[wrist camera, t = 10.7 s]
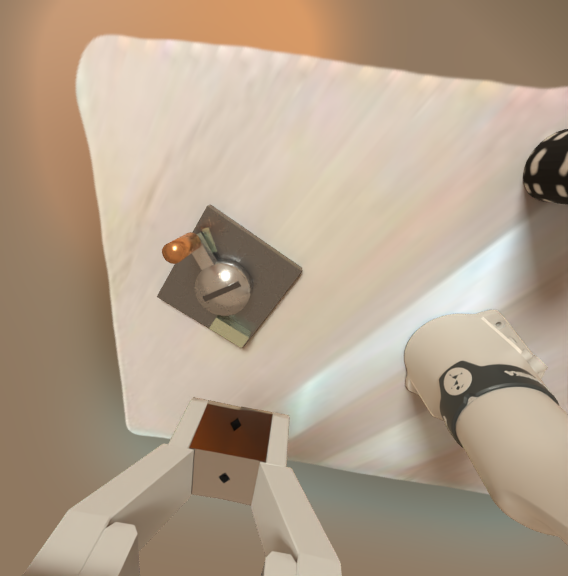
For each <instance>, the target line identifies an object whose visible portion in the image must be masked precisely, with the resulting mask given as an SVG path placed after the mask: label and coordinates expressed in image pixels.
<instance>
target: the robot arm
mask: <svg viewBox="0 0 568 576" xmlns="http://www.w3.org/2000/svg"><path fill="white" fill-rule="evenodd" d="M497 322H498V323H497ZM496 323H497V324H496ZM404 359H405V365H406V368H407V377H406V382H405V384H406V387H407V388H408V390H409V391H410V392H413V393H415V394H418V395H420V397H421V399H422V400H423V402H424V404H425V405H426V407H427V409H428V410H429V412H430V413H431V415H432V416H433V417H435V418H439V419H440V420H443V421H444V422H445V425H446V427H447V429H448V430H449V432H450V433H451V435H452V436H453V437H454V439H455V440H456V442H457V443H458V444H459V445H460V446H461V447H463V448H464V450H465V451H466V453H467V455H468V457H469V459H470V460H471V462H472V464H473V466H474V468H475V469H476V471H477V473H478V475H479V476H480V478H481V480H482V482H483V484H484V485H485V487H486V489H487V491H488V492H489V494H490V496H491V498H492V499H493V501H494V502H495V504H496V505H497V506H498V507H499V508H500V509H501V510H502V511H503V512H504V513H505V514H506V515H508V516H509V517H510V518H512V519H513V520H515V521H517V522H518V523H520V524H522V525H524V526H526V527H528V528H530V529H532V530H535V531H537V532H540V533H544V534H548V535H553V536H558V537H560V538H561V539H562V540H563V541H564V542H565V544H566V545H567V546H568V414H567V413H566V412H565V411H564V410H563V409H562V408H561V407H560V406H559V404H558V401H557V400H556V398H555V397H554V396H553V395H552V393H551V392H550V390H549V389H548V388H547V387H546V385H545V384H544V383H543V381H542V380H541V378H542V377H543V375H544V373H545V370H547V368H548V367H547V366H546V365H545V364H544V363H543V362H542V361H541V360H540V359H539V358H538V357H536V356H535V355H533V353H532V352H531V351H530V350H529V348H528V347H527V346H526V345H525V343H524V342H523V341H522V339H521V338H520V337H519V336H518V334H517V333H516V332H515V331H514V329H513V328H512V327H511V325H510V324H509V323H508V322H507V320H506V319H505V318H504V316H503V315H502V314H501V313H500V312H499V311H497V310H488V311H484V312H480V313H477V314H450V315H445V316H441V317H438V318H436V319H433V320H431V321H429V322H428V323H426V324H425V325H423V326H422V327H420V328H419V329H418V330H417V331H416V332H415V333H414V334H413V336H412V337H411V338H410V340H409V342H408V344H407V346H406V349H405V355H404ZM289 419H290V418H289V415H285V414H279V413H274V412H273V413H272V412H269V411H263V410H258V409H252V408H246V407H239V406H234V405H229V404H225V403H220V402H215V401H211V400H210V401H209V400H205V399H200V398H195V397H193V398H192V400H191V401H190V402H189V404H188V406H187V408H186V410H185V412H184V414H183V416H182V418H181V420H180V422H179V424H178V426H177V428H176V430H175V432H174V434H173V436H172V438H171V440H170V442H169V444H162V445H161V446H159V447H158V448H156V449H155V450H153V451H152V452H150V453H149V454H148V455H146V456H145V457H144V458H142V459H141V460H139V461H138V462H136V463H135V464H133V465H132V466H131V467H129V468H128V469H127V470H125V471H123V472H122V473H121V474H119V475H118V476H117V477H115V478H114V479H112V480H111V481H109V482H108V483H106V484H105V485H104V486H102V487H101V488H99V489H98V490H96V491H95V492H94V493H92V494H91V495H89V496H88V497H87V498H85V499H84V500H82V501H81V502H80V503H78V504H77V505H75V506H74V507H72V508H71V509H69V510H68V512H67V513H66V515H65V516H64V517H63V519H62V520H61V522H60V523H59V524H58V526H57V527H56V529H55V530H54V532H53V533H52V535H51V536H50V537H49V539H48V540H47V542H46V543H45V544H44V546H43V547H42V549H41V550H40V551H39V553H38V554H37V556H36V557H35V558H34V560H33V561H32V563H31V564H30V566H29V567H28V568H27V570H26V571H25V573H24V574H23V575H22V576H140V566H139V551H140V550H141V549H142V548H143V547H144V546H145V545H146V544H147V542H149V541H150V540H151V538H152V537H153V536H154V535H155V534H156V533H157V532H158V531H159V530H160V529H161V528H162V527H163V526H164V525H165V524H166V522H168V520H169V519H170V518H171V517H172V516H173V515H174V514H175V513H176V512H177V511H178V510H179V509H180V507H182V505H183V504H184V503H185V502H186V501H187V500H188V499H189V498H190V497H191V494H193V495H199V496H206V497H213V498H219V499H224V500H228V501H233V502H238V503H242V504H246V505H251V509H252V513H253V516H254V519H255V523H256V526H257V530H258V533H259V536H260V539H261V543H262V547H263V550H264V553H265V557H266V559H265V562H264V566H263V570H262V573H261V576H342V574H341V564H340V560H339V559H338V557H337V555H336V553H335V551H334V549H333V547H332V545H331V543H330V542H329V539H328V538H327V536H326V534H325V532H324V530H323V528H322V526H321V524H320V522H319V520H318V518H317V516H316V514H315V512H314V510H313V508H312V506H311V505H310V503H309V501H308V499H307V497H306V495H305V493H304V491H303V489H302V487H301V485H300V483H299V481H298V479H297V477H296V476H295V474H294V472H293V470H292V468H289V467H286V465H287V450H288V434H289Z"/></svg>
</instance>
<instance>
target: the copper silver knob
mask: <svg viewBox="0 0 568 576" xmlns="http://www.w3.org/2000/svg"><path fill="white" fill-rule="evenodd" d="M191 253H192V255H193V256H194V258H195V260H196V261H197V263H198V265H199V266H200V268H201V269H202V271H201V272H200V273H199V275H198V276H197V278H196V281H195V285H194V289H195V294H196V297H197V299H198V301H199V302H200V304H201V305H202V306H203V307H204V308H205V309H206V310H208V311H209V312H211V313H213V314H216V315H221V316H230V315H234V314H236V313H238V312H240V311H241V310H242V309H243V308H244V307H245V306H246V304H247V302H248V300H249V298H250V295H251V293H252V280H251V277H250V275H249V273H248V272H247V271H246V269H245V268H244V267H243V266H241V265H240V264H238V263H236V262H234V261H231V260H224V259H222V260H216V258H215V256H214V255H213V253H212V251H211V249H210V248H209V246H208V244H207V243H206V241H205V239H204V237H203V236H202V234H201V232H200V233H198V234H195V233H191V232H190V233H187V234H185V235H183V236H181V237H179V238H177V239H176V240H174V241H172V242H170V243H168V244H166V245H165V246H164V247H163V249H162V254H163V257H164V258H165V260H166V261H168V262H169V263H173V264H176V263H179V262H180V261H182V260H183V259H184V258H186V257H187V256H188V255H190V254H191Z"/></svg>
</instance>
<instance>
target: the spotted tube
mask: <svg viewBox="0 0 568 576" xmlns="http://www.w3.org/2000/svg"><path fill="white" fill-rule="evenodd" d="M523 178H524V185H525V188H526V190H527V191H528V193H529V194H530V195H531V196H532V197H534V198H536V199H537V200H541V201H546V202H553V203H560V204H568V129H565V130H562V131H559V132H556V133H554V134H553V135H551V136H549V137H547V138H546V139H545V140H544V141H542V142H541V143H540V144H539V145H538V146H537V147H536V148H535V149H534V151H533V152H532V154H531V155H530V157H529V159H528V161H527V163H526V166H525V169H524V175H523Z"/></svg>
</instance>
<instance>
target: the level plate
mask: <svg viewBox="0 0 568 576" xmlns="http://www.w3.org/2000/svg"><path fill="white" fill-rule="evenodd" d="M200 232H201V234H202V236H203V237H204V239H205V241H206V243H207V244H208V246H209V248H210V249H211V251H212V253H213V255H214V256H215V258H216V260H222V259H224V260H231V261H234V262H236V263H238V264H240V265H241V266H243V267H244V268H245V269H246V271H247V272H248V273H249V275H250V277H251V280H252V293H251V295H250V298H249V300H248V302H247V304H246V306H245V307H244V308H243V309H242V310H241V311H240V312H238V313H236V314H234V315H230V316H221V315H216V314H213V313H211V312H209V311H208V310H206V309H205V308H204V307H203V306H202V305H201V304H200V302H199V301H198V299H197V297H196V294H195V289H194V285H195V281H196V278H197V276H198V275H199V273H200V272H201V271H202V269H201V268H200V266H199V265H198V263H197V261H196V260H195V258H194V256H193V255H192V253H191V254H190V255H188V256H187V257H186V258H184V259H183V260H182V261H180V262H179V263H176V264H175V265H174V267H173V269H172V270H171V272H170V274H169V276H168V278H167V279H166V281H165V283H164V285H163V287H162V288H161V290H160V292H159V294H158V296H157V297H158V298H160V299H161V300H163V301H165V302H166V303H168V304H170V305H171V306H173V307H175V308H176V309H178V310H180V311H181V312H183V313H184V314H186V315H188V316H189V317H191V318H193V319H194V320H196V321H198V322H199V323H201V324H203V325H204V326H206V327H208V328H209V329H211V330H212V331H214V332H216V333H217V334H219V335H221V336H222V337H224V338H225V339H227V340H229V341H230V342H232V343H234V344H235V345H237V346H239V347H240V348H243V347H244V346H245V344H246V343H247V342H248V340H249V339H250V338H251V337H252V335H253V334H254V333H255V331H256V330H257V329H258V327H259V326H260V325H261V324H262V322H263V321H264V320H265V318H266V317H267V316H268V315H269V313H270V312H271V311H272V309H273V308H274V307H275V306H276V304H277V303H278V302H279V300H280V299H281V298H282V296H283V295H284V294H285V293H286V291H287V290H288V289H289V287H290V286H291V285H292V284H293V282H294V281H295V280H296V278H297V277H298V276H299V274H300V273H301V272H302V267H300V266H299V265H297V264H296V263H294V262H293V261H291V260H290V259H289V258H287V257H286V256H284V255H283V254H281V253H280V252H278V251H277V250H276V249H274V248H273V247H271V246H270V245H268V244H267V243H265V242H264V241H263V240H261V239H260V238H258V237H257V236H255V235H254V234H252V233H251V232H250V231H248V230H247V229H245V228H244V227H242V226H241V225H239V224H238V223H236V222H235V221H234V220H232V219H231V218H229V217H228V216H226V215H225V214H223V213H222V212H221V211H219V210H218V209H216V208H215V207H213V206H212V205H208V206H207V207H206V209H205V211H204V213H203V215H202V216H201V218H200V220H199V222H198V224H197V225H196V227H195V229H194V231H193V233H195V234H198V233H200Z"/></svg>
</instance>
